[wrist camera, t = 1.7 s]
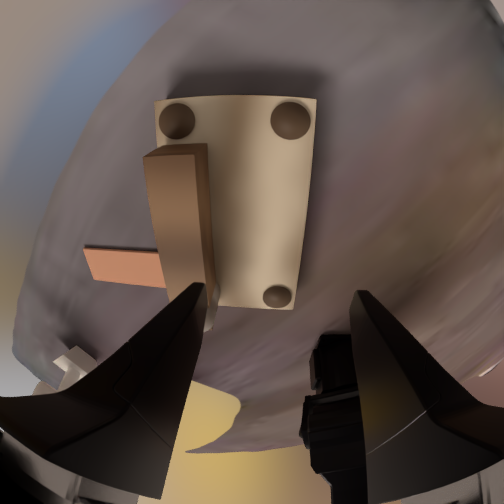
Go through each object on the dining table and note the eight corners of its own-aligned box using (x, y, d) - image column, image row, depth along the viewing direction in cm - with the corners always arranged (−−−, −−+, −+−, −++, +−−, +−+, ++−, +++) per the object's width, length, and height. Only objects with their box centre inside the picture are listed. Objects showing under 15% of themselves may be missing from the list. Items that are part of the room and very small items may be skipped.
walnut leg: (221, 306, 23) (215, 334, 21) (182, 303, 24) (172, 329, 21) (212, 142, 16) (198, 155, 13) (158, 145, 16) (136, 158, 13)
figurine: (95, 373, 41) (69, 438, 28) (56, 343, 37) (23, 408, 25) (111, 367, 38) (82, 442, 26) (67, 333, 34) (29, 408, 22)
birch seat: (311, 98, 15) (317, 99, 14) (292, 294, 25) (292, 311, 23) (165, 99, 16) (153, 101, 14) (187, 287, 26) (181, 303, 24)
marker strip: (175, 253, 23) (174, 254, 23) (182, 287, 26) (181, 289, 25) (84, 247, 24) (83, 249, 24) (95, 277, 26) (94, 279, 26)
